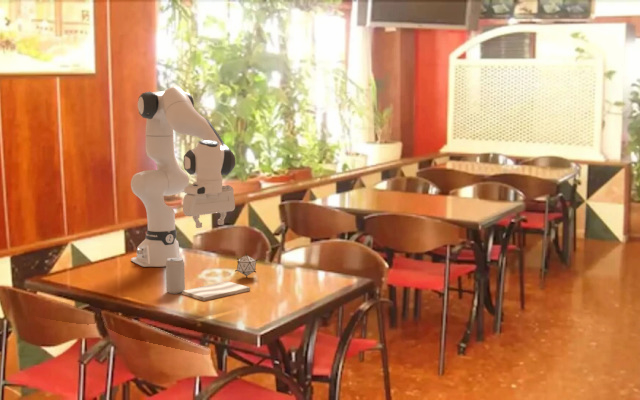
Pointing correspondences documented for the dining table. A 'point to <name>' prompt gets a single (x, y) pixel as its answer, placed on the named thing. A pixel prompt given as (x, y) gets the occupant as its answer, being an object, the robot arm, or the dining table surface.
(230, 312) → the dining table surface
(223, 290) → the board
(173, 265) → the beverage can
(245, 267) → the game die
